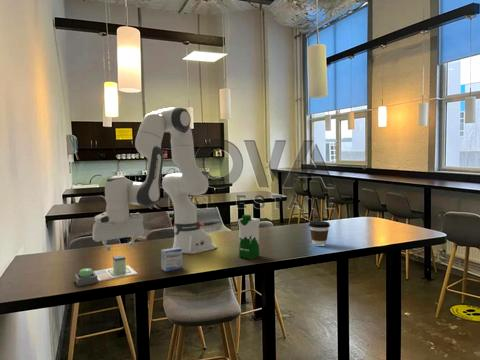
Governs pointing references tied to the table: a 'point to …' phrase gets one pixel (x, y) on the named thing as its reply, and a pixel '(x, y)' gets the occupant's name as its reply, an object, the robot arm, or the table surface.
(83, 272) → the button
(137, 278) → the table surface
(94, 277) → the button housing
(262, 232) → the table surface
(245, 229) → the milk carton
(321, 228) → the coffee cup
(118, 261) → the marker block
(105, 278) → the picture board
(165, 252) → the medicine box
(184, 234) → the robot arm
